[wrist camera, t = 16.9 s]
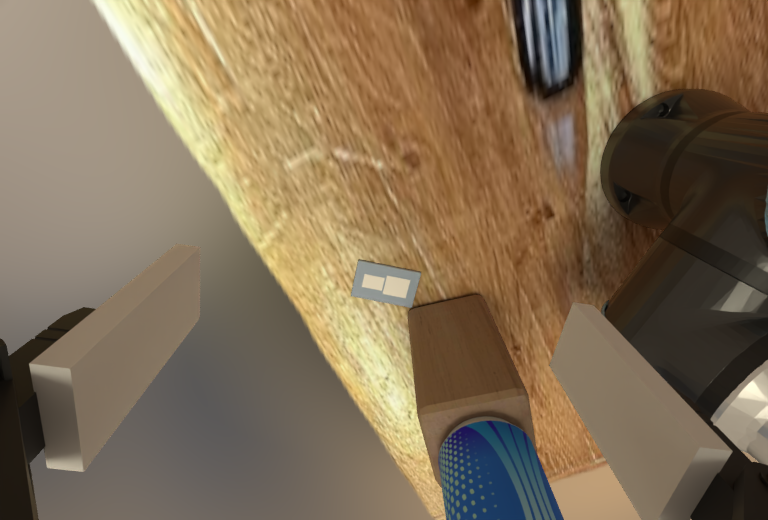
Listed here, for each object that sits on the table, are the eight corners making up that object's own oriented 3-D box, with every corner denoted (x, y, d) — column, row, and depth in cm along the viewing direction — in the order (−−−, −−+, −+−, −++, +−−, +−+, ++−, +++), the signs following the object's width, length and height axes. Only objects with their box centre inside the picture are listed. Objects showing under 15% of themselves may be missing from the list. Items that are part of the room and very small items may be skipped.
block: (493, 353, 59) (542, 476, 41) (421, 368, 60) (438, 495, 42) (481, 290, 56) (530, 393, 37) (405, 306, 57) (416, 415, 38)
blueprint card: (420, 271, 55) (421, 273, 54) (411, 306, 56) (411, 308, 56) (358, 259, 54) (358, 260, 54) (351, 294, 56) (350, 296, 55)
